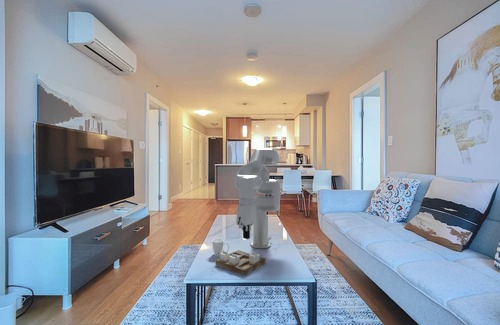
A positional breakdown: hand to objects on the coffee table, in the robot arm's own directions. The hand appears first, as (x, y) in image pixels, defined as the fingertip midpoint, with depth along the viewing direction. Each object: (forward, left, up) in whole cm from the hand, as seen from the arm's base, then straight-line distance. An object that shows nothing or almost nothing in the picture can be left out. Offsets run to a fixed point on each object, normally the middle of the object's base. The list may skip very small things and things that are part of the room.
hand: (246, 238), depth 124 cm
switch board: (-2, -5, -15) cm, 16 cm away
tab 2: (-5, +1, -13) cm, 15 cm away
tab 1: (+3, -12, -14) cm, 18 cm away
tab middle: (+3, -5, -14) cm, 15 cm away
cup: (-5, -23, -16) cm, 29 cm away
